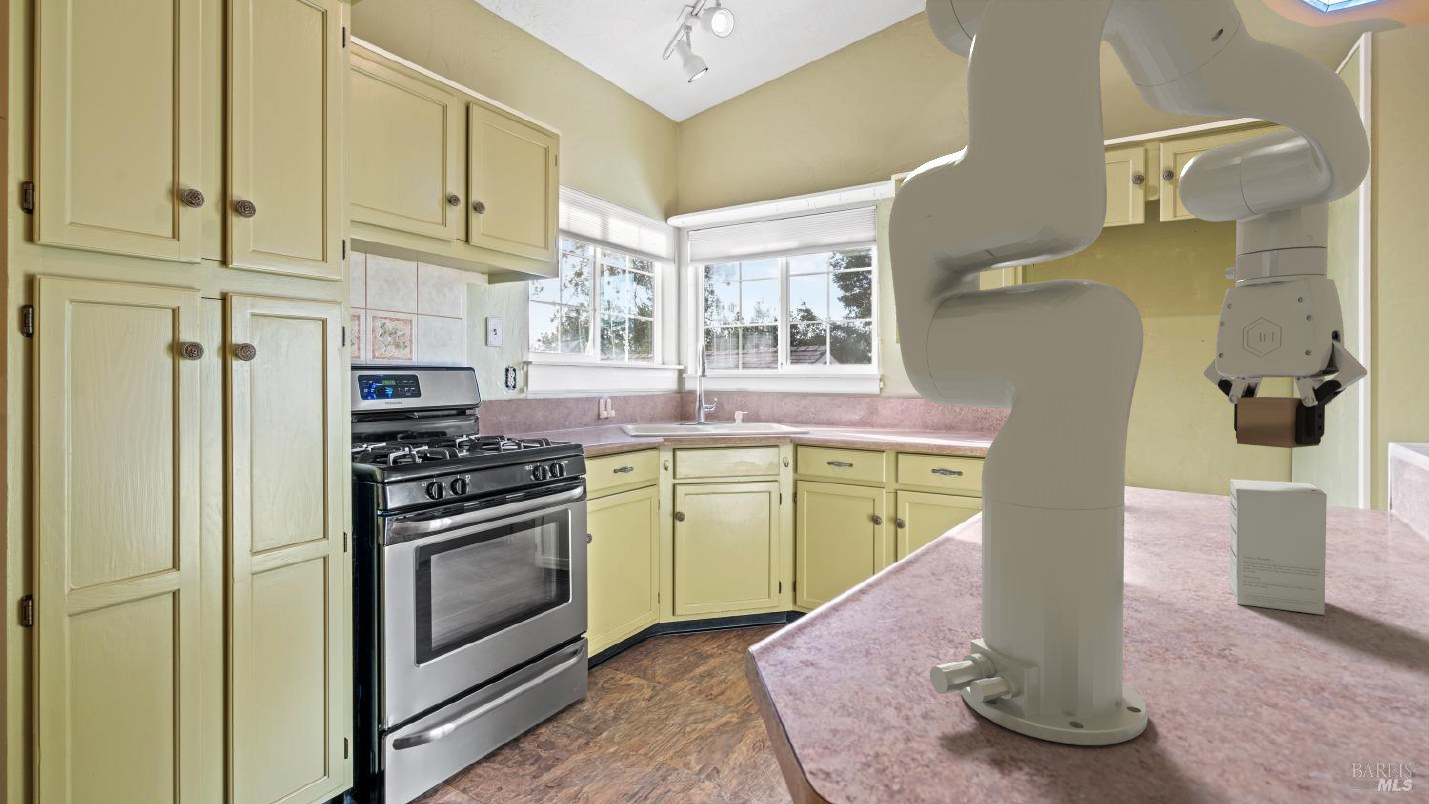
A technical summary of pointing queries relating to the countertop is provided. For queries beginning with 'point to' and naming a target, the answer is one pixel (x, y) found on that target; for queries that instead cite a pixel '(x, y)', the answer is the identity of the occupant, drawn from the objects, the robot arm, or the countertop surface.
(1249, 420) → the walnut cube
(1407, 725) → the countertop surface
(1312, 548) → the supplement box
